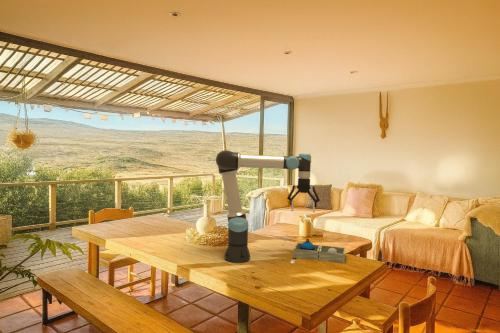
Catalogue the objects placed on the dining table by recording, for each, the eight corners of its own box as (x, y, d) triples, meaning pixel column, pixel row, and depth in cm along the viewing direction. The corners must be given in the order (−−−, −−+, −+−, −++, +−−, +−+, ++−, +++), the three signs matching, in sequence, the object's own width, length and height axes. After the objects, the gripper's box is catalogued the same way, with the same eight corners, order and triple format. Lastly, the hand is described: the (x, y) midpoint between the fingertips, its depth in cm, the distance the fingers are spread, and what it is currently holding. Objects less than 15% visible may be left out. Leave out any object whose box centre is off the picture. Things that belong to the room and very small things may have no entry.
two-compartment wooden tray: (344, 265, 191) (345, 254, 191) (292, 258, 200) (293, 249, 199) (345, 257, 205) (345, 247, 205) (296, 252, 214) (296, 242, 214)
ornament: (316, 255, 205) (317, 239, 204) (308, 258, 199) (309, 241, 198) (305, 252, 211) (305, 236, 210) (297, 254, 205) (297, 238, 204)
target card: (304, 265, 189) (304, 264, 189) (290, 263, 191) (290, 262, 191) (305, 261, 195) (305, 260, 195) (292, 260, 197) (292, 259, 197)
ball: (337, 260, 197) (337, 249, 196) (326, 258, 198) (327, 248, 198) (337, 257, 202) (337, 247, 202) (327, 255, 204) (327, 246, 204)
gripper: (324, 178, 209) (323, 212, 210) (286, 176, 218) (284, 209, 218) (323, 179, 202) (322, 214, 203) (283, 177, 211) (282, 210, 211)
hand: (302, 211), depth 211 cm, fingers open, 13 cm apart
